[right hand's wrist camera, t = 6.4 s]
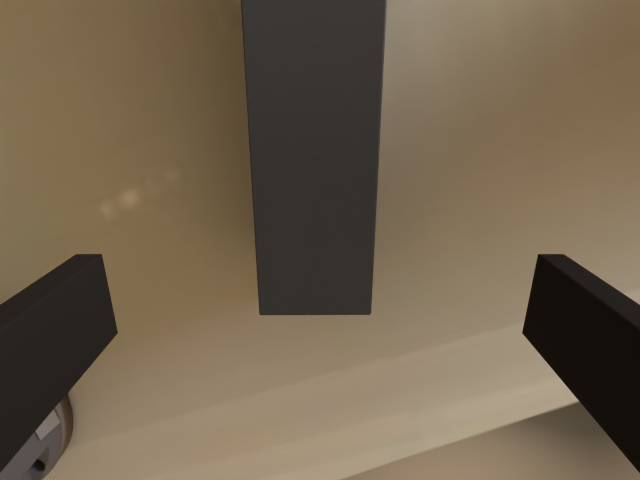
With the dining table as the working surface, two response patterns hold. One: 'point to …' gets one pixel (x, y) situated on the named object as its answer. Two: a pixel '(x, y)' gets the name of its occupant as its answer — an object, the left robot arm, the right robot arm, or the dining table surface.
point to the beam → (314, 150)
